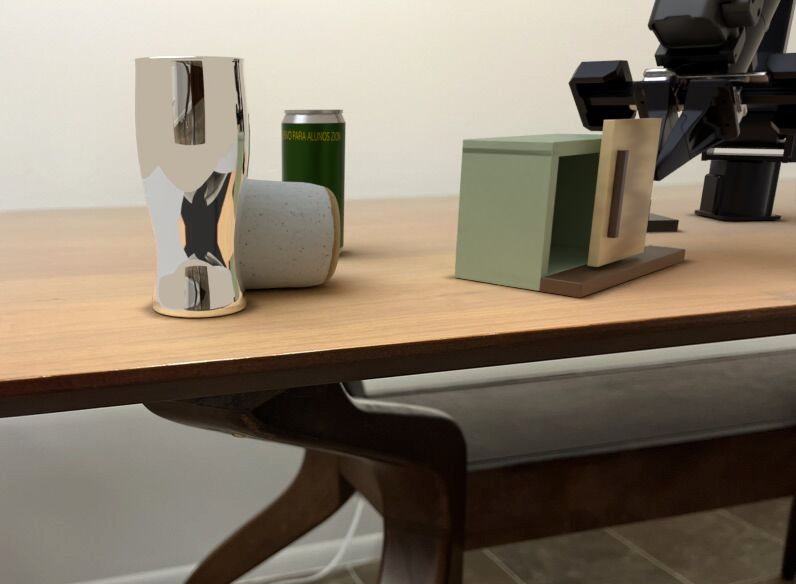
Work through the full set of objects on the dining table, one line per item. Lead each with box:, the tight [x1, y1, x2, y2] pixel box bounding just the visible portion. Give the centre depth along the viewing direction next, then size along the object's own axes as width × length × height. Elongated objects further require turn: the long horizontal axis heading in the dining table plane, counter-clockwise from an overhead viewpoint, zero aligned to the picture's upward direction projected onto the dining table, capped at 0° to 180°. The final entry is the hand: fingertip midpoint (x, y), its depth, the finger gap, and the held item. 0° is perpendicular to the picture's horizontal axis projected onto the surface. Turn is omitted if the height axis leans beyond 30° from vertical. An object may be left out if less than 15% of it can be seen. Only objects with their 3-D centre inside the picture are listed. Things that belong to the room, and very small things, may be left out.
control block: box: [646, 201, 680, 233], centre depth 84 cm, size 10×7×3 cm
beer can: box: [280, 109, 347, 256], centre depth 69 cm, size 5×5×12 cm
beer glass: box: [133, 55, 251, 319], centre depth 50 cm, size 7×7×15 cm
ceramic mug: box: [239, 178, 340, 290], centre depth 59 cm, size 11×8×8 cm
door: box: [587, 118, 662, 267], centre depth 59 cm, size 8×1×10 cm, turn 135°
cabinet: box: [454, 133, 687, 299], centre depth 62 cm, size 18×10×10 cm, turn 135°
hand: (652, 177), depth 62 cm, fingers closed
